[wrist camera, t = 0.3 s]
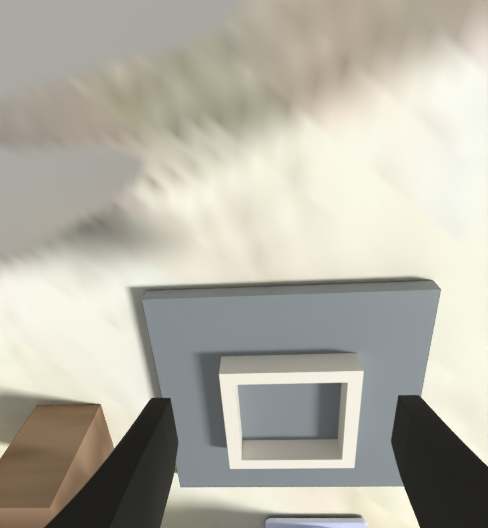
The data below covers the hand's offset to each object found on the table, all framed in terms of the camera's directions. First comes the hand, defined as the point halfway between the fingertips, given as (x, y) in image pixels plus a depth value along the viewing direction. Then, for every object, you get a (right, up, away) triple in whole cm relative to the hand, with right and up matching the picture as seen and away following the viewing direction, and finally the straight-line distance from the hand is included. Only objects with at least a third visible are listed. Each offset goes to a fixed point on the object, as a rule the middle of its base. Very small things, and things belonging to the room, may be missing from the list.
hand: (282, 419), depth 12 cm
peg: (-13, -7, +15) cm, 21 cm away
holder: (+2, -3, +13) cm, 13 cm away
